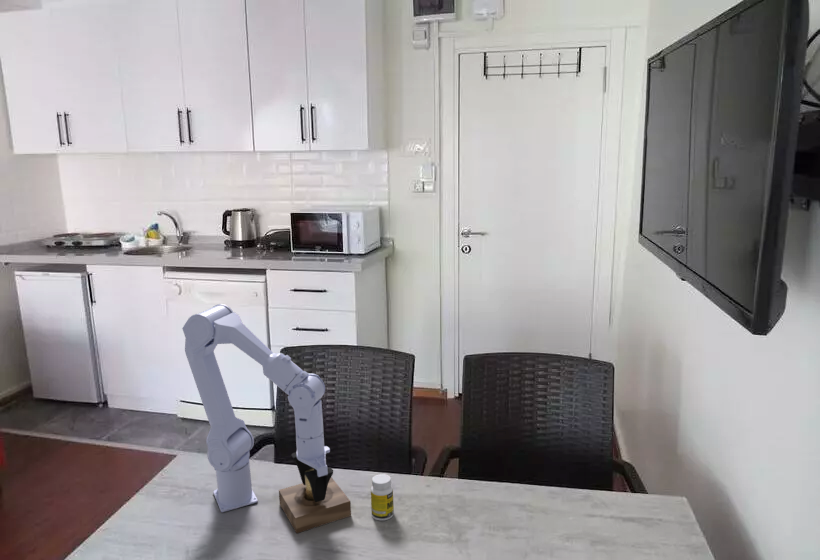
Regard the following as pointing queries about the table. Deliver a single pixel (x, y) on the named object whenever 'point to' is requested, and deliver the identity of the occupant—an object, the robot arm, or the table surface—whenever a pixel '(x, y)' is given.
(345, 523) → the table surface
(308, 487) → the brass peg
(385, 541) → the table surface
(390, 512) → the supplement bottle
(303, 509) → the socket block
